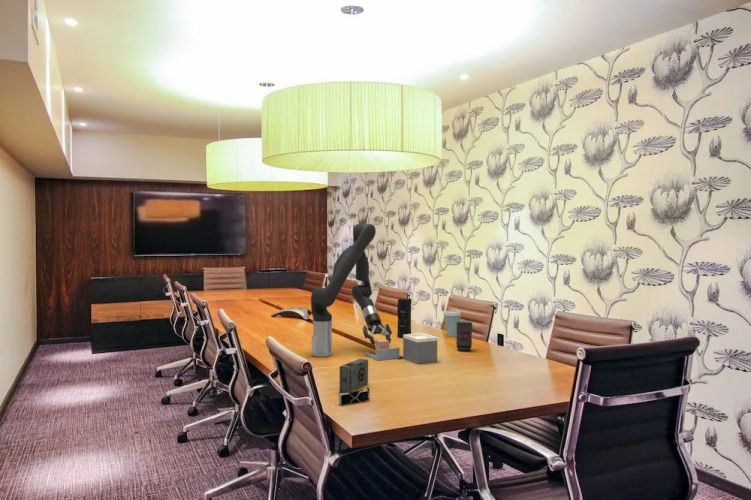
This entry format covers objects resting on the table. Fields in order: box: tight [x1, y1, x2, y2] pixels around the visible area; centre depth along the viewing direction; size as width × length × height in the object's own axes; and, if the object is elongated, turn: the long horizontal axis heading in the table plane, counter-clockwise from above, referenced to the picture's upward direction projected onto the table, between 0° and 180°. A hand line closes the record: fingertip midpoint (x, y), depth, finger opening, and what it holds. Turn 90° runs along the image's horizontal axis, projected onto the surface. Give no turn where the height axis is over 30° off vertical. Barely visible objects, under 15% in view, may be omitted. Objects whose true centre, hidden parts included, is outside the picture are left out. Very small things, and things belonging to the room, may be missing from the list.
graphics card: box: [338, 386, 371, 406], centre depth 189 cm, size 12×3×5 cm, turn 120°
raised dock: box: [402, 332, 438, 365], centre depth 255 cm, size 11×13×12 cm
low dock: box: [365, 347, 401, 362], centre depth 262 cm, size 12×12×5 cm
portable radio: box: [396, 294, 413, 339], centre depth 314 cm, size 8×6×25 cm
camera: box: [338, 358, 369, 393], centre depth 207 cm, size 16×4×10 cm, turn 151°
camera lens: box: [455, 320, 473, 353], centre depth 277 cm, size 8×8×15 cm
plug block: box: [374, 338, 390, 356], centre depth 262 cm, size 5×5×8 cm
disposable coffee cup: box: [443, 309, 462, 338], centre depth 319 cm, size 11×11×15 cm
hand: (381, 343), depth 263 cm, fingers open, 8 cm apart
